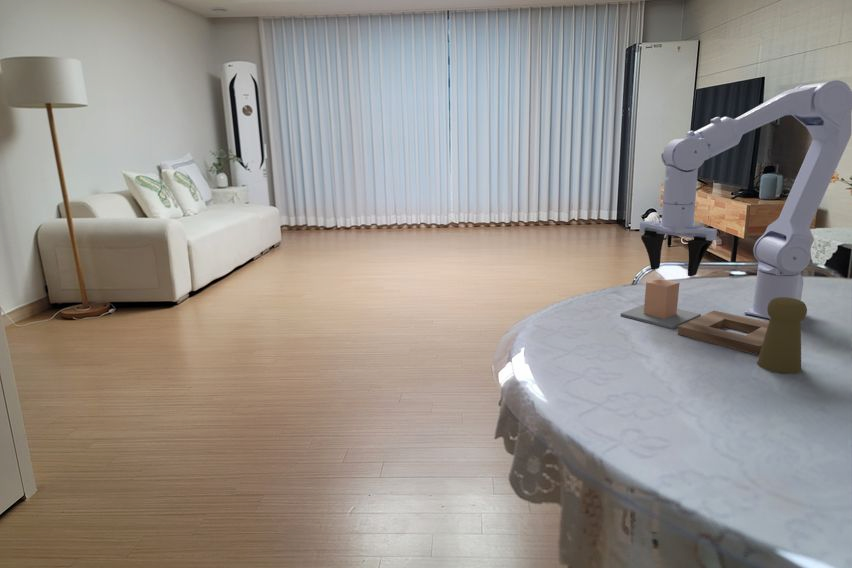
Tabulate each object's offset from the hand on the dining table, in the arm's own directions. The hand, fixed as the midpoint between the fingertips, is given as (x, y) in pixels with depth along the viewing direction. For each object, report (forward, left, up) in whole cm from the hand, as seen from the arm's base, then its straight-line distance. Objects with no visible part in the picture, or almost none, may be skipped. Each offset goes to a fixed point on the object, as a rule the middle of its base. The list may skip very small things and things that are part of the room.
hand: (673, 272), depth 117 cm
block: (+2, -1, -8) cm, 9 cm away
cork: (+12, +25, -9) cm, 29 cm away
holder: (+2, +14, -9) cm, 16 cm away
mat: (+2, -1, -9) cm, 9 cm away
